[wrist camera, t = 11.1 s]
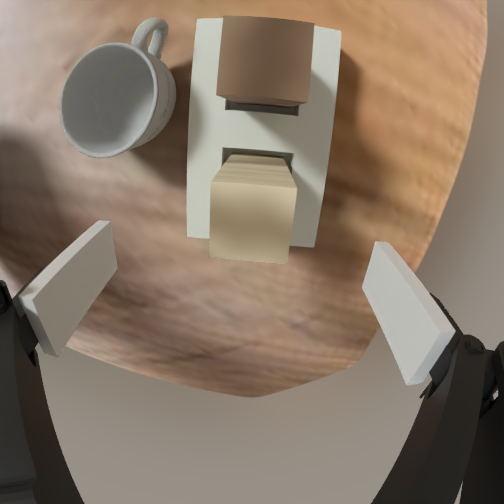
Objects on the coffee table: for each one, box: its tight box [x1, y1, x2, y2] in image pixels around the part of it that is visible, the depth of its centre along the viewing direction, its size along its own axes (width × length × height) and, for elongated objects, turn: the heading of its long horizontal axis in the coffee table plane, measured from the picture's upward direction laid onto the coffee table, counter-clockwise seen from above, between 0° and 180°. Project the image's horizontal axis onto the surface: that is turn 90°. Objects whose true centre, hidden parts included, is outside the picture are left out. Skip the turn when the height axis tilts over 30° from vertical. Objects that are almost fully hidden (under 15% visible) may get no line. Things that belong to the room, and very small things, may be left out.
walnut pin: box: [216, 16, 314, 108], centre depth 18 cm, size 5×5×13 cm
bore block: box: [187, 18, 341, 248], centre depth 26 cm, size 13×22×4 cm, turn 175°
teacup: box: [59, 17, 176, 158], centre depth 22 cm, size 14×11×8 cm
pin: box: [209, 152, 297, 264], centre depth 23 cm, size 5×5×13 cm
